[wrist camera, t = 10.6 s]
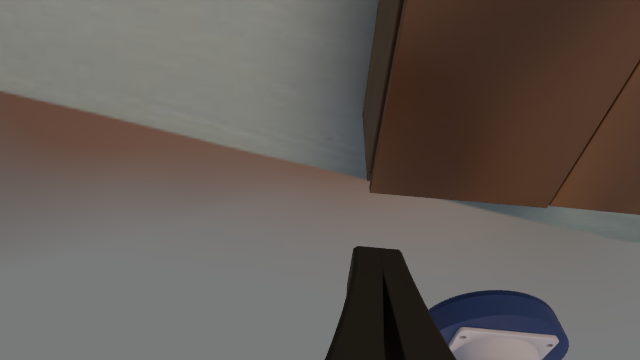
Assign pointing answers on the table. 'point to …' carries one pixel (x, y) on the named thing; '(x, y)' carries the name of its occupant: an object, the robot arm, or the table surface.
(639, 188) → the box lid
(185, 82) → the table surface
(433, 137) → the wooden cabinet
